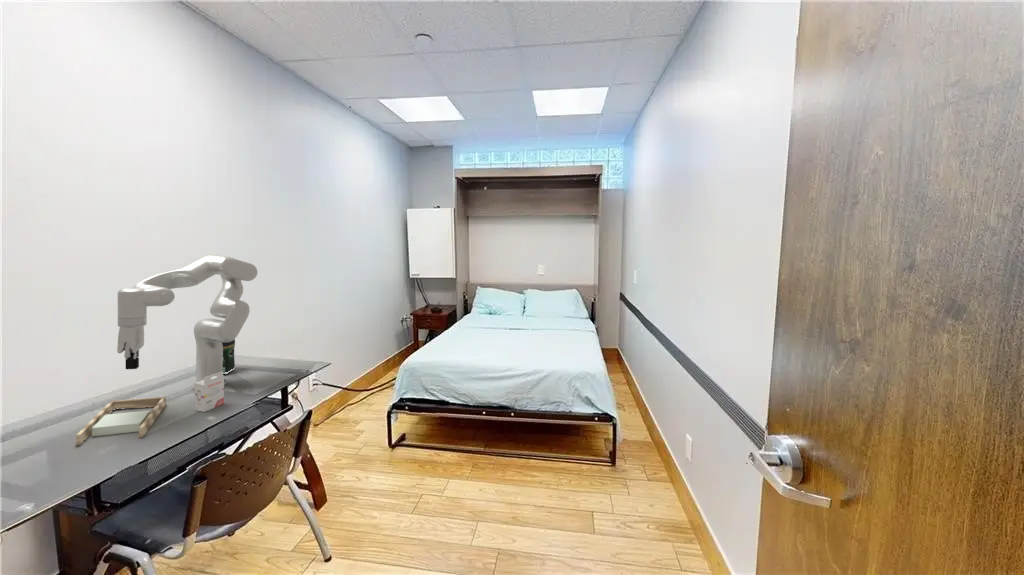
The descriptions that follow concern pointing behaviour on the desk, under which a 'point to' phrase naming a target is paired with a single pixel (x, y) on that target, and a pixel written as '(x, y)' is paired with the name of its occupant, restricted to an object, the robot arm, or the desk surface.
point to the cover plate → (119, 423)
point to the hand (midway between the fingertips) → (132, 368)
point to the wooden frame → (134, 403)
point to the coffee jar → (228, 356)
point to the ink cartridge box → (209, 392)
